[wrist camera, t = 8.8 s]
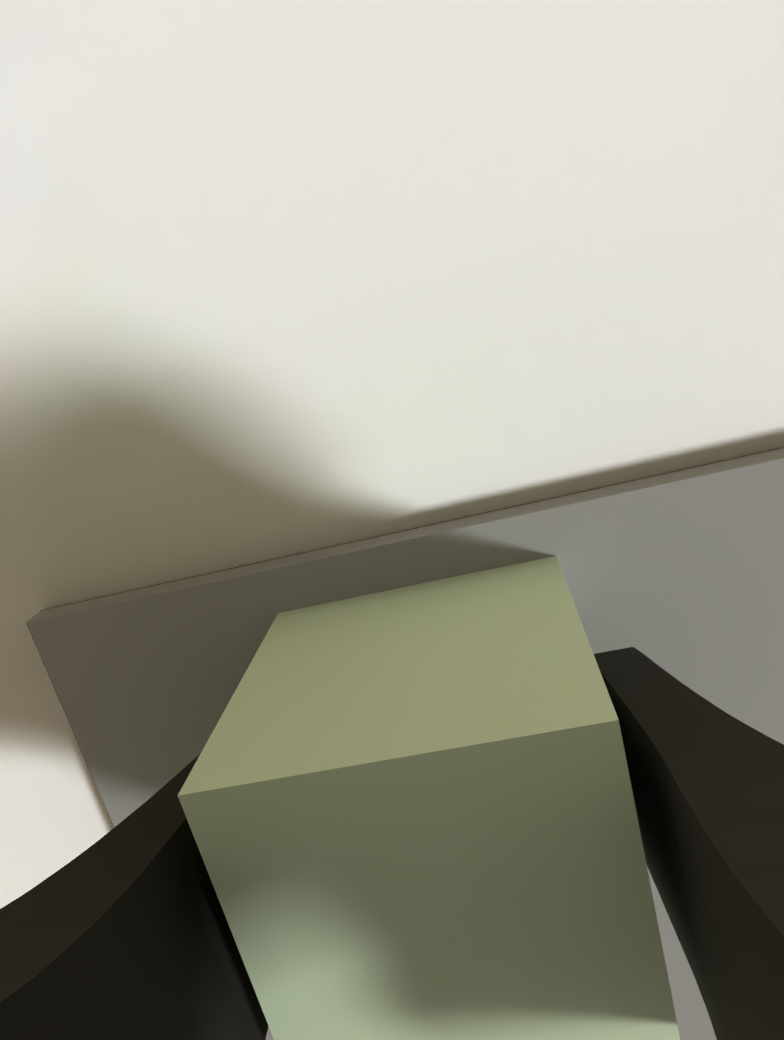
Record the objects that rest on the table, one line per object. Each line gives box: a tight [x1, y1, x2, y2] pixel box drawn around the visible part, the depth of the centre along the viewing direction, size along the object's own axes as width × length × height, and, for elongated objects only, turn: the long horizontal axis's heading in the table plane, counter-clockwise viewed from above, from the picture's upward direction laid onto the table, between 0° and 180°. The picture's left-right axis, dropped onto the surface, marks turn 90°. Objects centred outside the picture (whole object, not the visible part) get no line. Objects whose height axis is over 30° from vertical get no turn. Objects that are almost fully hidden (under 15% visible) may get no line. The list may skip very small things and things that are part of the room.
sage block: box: [178, 556, 680, 1040], centre depth 10 cm, size 4×4×4 cm
